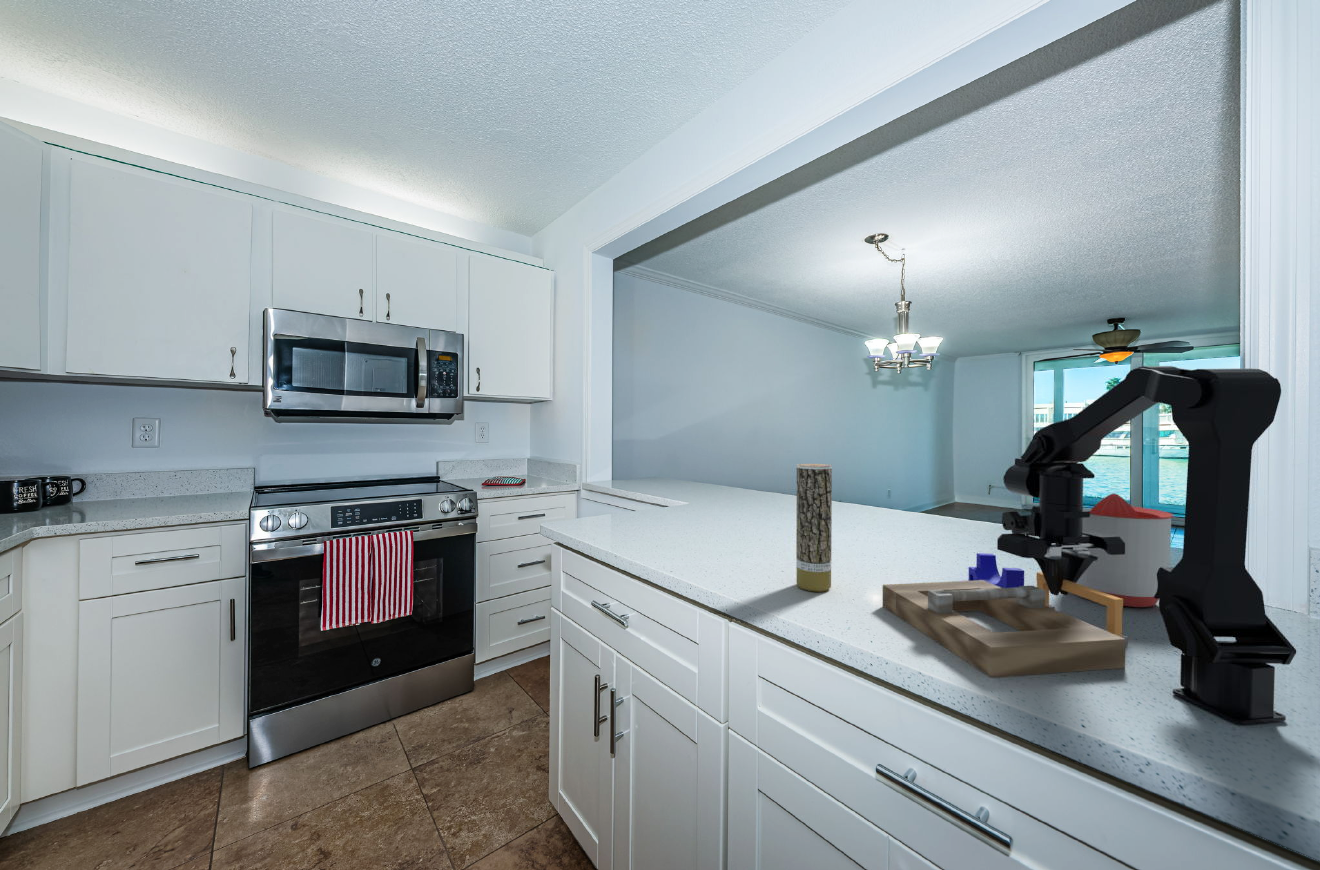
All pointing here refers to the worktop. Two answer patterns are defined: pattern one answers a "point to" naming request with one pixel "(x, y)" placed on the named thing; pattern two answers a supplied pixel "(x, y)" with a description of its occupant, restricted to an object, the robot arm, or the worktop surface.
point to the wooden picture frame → (1032, 650)
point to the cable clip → (995, 572)
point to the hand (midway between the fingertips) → (1059, 594)
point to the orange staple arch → (1100, 597)
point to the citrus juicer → (1128, 551)
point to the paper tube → (814, 526)
